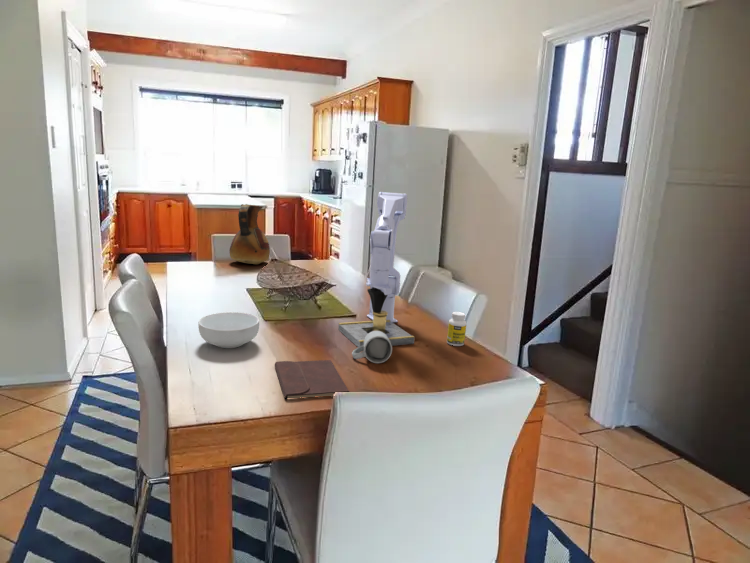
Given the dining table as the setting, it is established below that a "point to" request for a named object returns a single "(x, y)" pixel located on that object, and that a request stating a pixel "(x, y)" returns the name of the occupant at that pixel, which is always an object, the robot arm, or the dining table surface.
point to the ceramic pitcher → (249, 238)
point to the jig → (361, 329)
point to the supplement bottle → (456, 329)
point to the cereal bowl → (228, 329)
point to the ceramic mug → (374, 348)
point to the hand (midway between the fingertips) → (376, 312)
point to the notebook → (309, 378)
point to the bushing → (379, 321)
